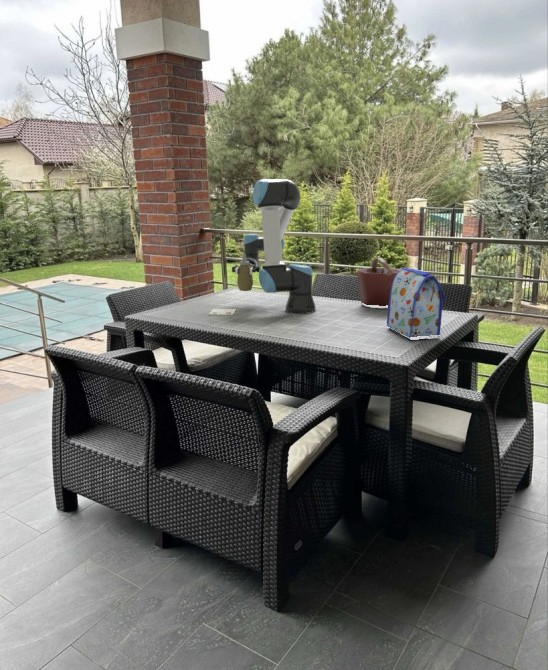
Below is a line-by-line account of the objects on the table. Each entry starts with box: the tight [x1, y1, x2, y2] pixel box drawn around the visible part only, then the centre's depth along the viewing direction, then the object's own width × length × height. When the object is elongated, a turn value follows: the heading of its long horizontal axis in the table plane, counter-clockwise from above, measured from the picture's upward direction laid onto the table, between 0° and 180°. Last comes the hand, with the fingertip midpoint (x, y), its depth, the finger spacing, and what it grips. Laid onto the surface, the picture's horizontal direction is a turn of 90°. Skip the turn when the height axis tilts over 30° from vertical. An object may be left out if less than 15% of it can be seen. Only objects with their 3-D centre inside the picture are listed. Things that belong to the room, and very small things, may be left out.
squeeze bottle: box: [236, 253, 254, 292], centre depth 265 cm, size 8×8×18 cm
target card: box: [208, 308, 237, 316], centre depth 268 cm, size 12×12×1 cm
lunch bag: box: [386, 267, 447, 338], centre depth 220 cm, size 23×17×27 cm
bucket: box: [356, 257, 401, 306], centre depth 276 cm, size 24×22×25 cm
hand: (243, 271), depth 260 cm, fingers closed on squeeze bottle, 6 cm apart
